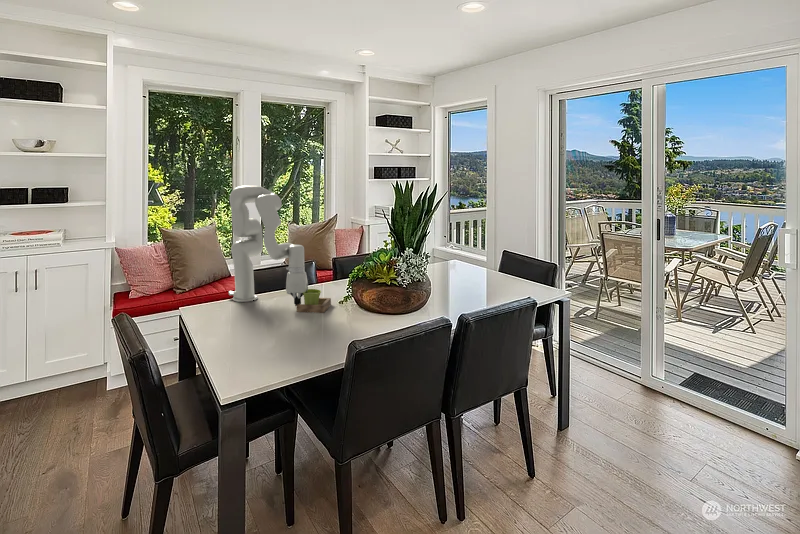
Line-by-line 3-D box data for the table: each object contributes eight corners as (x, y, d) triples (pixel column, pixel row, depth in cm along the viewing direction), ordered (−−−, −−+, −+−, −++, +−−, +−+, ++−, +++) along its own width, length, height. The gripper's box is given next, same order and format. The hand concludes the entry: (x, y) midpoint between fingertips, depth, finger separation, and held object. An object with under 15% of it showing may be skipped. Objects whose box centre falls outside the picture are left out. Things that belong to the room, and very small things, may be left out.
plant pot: (302, 310, 237) (302, 293, 235) (301, 305, 246) (301, 288, 244) (321, 310, 239) (321, 293, 238) (319, 305, 248) (320, 288, 246)
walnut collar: (296, 311, 236) (296, 304, 235) (305, 303, 250) (305, 297, 250) (323, 312, 235) (323, 306, 234) (330, 304, 249) (330, 298, 249)
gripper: (279, 270, 236) (280, 306, 240) (309, 271, 235) (310, 308, 239) (284, 267, 244) (285, 302, 247) (313, 268, 242) (314, 304, 246)
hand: (297, 305), depth 243 cm, fingers closed
